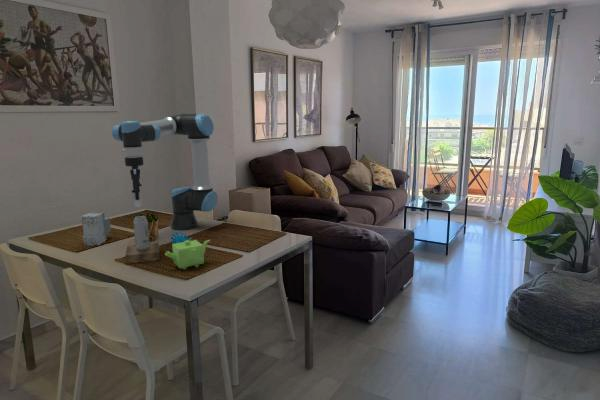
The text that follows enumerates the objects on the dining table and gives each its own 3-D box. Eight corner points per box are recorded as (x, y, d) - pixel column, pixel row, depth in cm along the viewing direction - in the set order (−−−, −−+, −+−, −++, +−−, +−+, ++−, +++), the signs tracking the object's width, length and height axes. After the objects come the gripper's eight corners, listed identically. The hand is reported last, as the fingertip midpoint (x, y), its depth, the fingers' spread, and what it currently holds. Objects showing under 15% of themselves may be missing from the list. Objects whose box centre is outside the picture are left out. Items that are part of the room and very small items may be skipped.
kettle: (211, 261, 182) (210, 237, 180) (198, 273, 169) (197, 247, 166) (180, 259, 185) (179, 235, 183) (165, 270, 171) (163, 245, 169)
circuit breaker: (113, 237, 219) (110, 210, 216) (98, 245, 205) (94, 216, 202) (100, 237, 220) (97, 209, 217) (83, 245, 206) (80, 216, 203)
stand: (159, 250, 196) (158, 242, 196) (160, 260, 184) (159, 251, 183) (127, 254, 192) (127, 246, 191) (126, 264, 179) (125, 255, 178)
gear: (175, 249, 193) (168, 231, 198) (170, 256, 197) (163, 238, 201) (195, 247, 202) (188, 230, 206) (190, 253, 205) (184, 236, 209)
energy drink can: (146, 251, 184) (143, 218, 181) (133, 251, 184) (130, 218, 181) (152, 246, 190) (149, 215, 187) (139, 246, 190) (136, 215, 187)
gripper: (125, 154, 190) (129, 199, 194) (123, 160, 167) (128, 210, 172) (142, 153, 192) (146, 197, 197) (142, 159, 170) (147, 208, 174)
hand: (138, 203), depth 184 cm, fingers open, 13 cm apart
